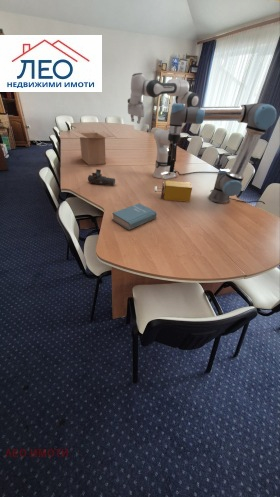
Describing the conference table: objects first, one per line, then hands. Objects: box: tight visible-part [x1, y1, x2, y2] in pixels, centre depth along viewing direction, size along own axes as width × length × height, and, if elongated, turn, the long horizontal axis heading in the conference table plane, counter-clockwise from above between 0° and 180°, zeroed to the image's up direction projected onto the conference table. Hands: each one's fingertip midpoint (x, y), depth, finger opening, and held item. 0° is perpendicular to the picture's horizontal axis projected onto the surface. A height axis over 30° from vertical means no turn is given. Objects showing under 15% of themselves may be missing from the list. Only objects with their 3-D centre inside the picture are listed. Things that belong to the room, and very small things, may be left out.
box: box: [70, 129, 114, 166], centre depth 229 cm, size 44×36×27 cm
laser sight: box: [87, 168, 116, 186], centre depth 182 cm, size 10×22×10 cm, turn 78°
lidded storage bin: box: [163, 180, 193, 203], centre depth 168 cm, size 19×11×11 cm, turn 86°
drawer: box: [154, 181, 165, 199], centre depth 168 cm, size 24×10×9 cm, turn 86°
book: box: [112, 202, 158, 231], centre depth 138 cm, size 23×16×5 cm
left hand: (135, 122), depth 170 cm, fingers open, 8 cm apart
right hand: (170, 168), depth 148 cm, fingers open, 13 cm apart
